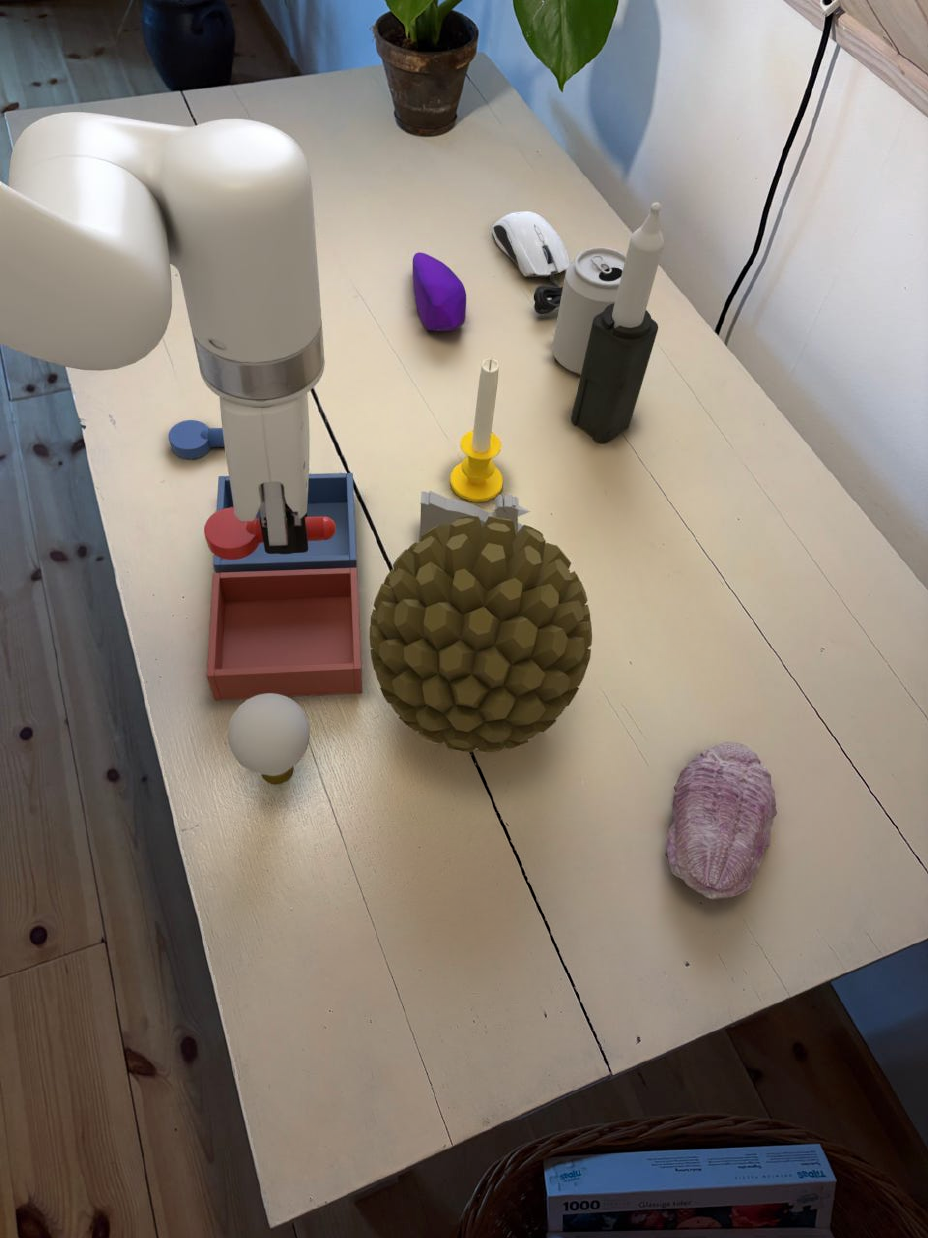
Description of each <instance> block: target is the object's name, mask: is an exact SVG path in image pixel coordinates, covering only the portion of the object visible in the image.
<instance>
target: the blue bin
mask: <svg viewBox="0 0 928 1238" xmlns="http://www.w3.org/2000/svg"><path fill="white" fill-rule="evenodd" d="M216 497H217V498H216V511H215V512H217V511H219V510H222V509H225V508H234V505H233V498H232V492H231V485H230V479H229V475H219V476H218V479H217V495H216ZM355 512H356V511H355V492H354V474H353V472H329V473H327V472H326V473H325V472H324V473H309V481H308V500H307V516H308V517H329V518H330V519H332V520H333V521H334V523H335V525H336V532H335V534H334V536H333V537H332V538H330V539H328V540H321V541H308V551H307V552H304V553H292V554H268V553H266V552H265V549H264V543H260V544H259V546H258V547H257V549H256V550H255V551H254V552H253V553H252V554H250V555H249V556H247V557H245V558H242V559H238V560H226V559H222V558H219V557H217V556H216V555H214V554H213V561H212V563H213V564H212V565H213V569H214V573H223V572H250V571H278V570H306V569H334V568H357V569H358V561H357V538H356V537H357V535H356V515H355V514H356V513H355ZM256 519H260V511H258V513H257V515H256Z"/></svg>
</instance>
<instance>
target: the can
mask: <svg viewBox="0 0 928 1238" xmlns="http://www.w3.org/2000/svg"><path fill="white" fill-rule="evenodd" d="M626 255H627V254H625V253H624V252H622V251H620V250H618V249H615V248H613V247H606V246H594V247H593V246H591V247H589V248H586V249H583V250H581V251H580V252H578V253H577V255H576V256H575V257H574V260H573V261H572V262H571V264H570V265H569V267H568V268H567V269H566V270H565V275H564V279H563V285H562V286H563V290H562V296H561V301H560V307H558V313H557V319H556V324H555V328H554V335H553V340H552V347H551V348H552V350H551V351H552V353H553V356H554V358H555V360H557V362H558V363H559V364H560V365H561V366H562V367H564V368H565V369H566V370H568V371H569V372H571V373H573V374H574V373H575V374H576V375H579V376H581V372H582V367H583V363H584V358H585V354H586V349H587V345H588V340H589V336H590V331H591V327H592V322H593V319H594V317H595V316H596V315H598V314H600V313H602V312H603V311H604V310H605V308H606V307H607V306H609V305H610V304H612V303H615V300H616V296H617V292H618V288H619V284H620V280H621V276H622V271H623V267H624V263H625V259H626Z"/></svg>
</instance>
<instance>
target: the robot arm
mask: <svg viewBox="0 0 928 1238" xmlns="http://www.w3.org/2000/svg"><path fill="white" fill-rule="evenodd" d="M11 152H12V153H11V156H10V162H9V171H8V185H7V184H6V183H4V182H3V181H1V180H0V345H2V346H3V347H6V348H9V349H11V350H14V351H16V352H18V353H20V354H24V355H26V356H29V357H32V358H35V359H37V360H40V361H43V362H47V363H50V364H54V365H56V366H60V367H65V368H71V369H74V370H75V369H76V370H81V371H98V372H100V371H111V370H119V369H121V368H125V367H127V366H130V365H131V366H132V365H133V364H136V363H137V362H139V361H141V360H143V359H144V358H146V357H147V356H148V355H149V354H150V353H151V352H152V351H153V350H154V349H155V348H157V346H159V344H160V342H161V340H162V339H163V337H164V336H165V334H166V332H167V329H168V326H169V323H170V320H171V317H172V316H171V315H172V309H173V283H172V268H171V265H172V266H173V267H174V268H175V269H176V270H177V272H178V274H179V278H180V283H181V287H182V292H183V297H184V301H185V306H186V307H185V308H186V312H187V315H188V316H187V317H188V321H189V325H190V329H191V333H192V338H193V345H194V348H195V352H196V358H197V361H198V366H199V372H200V375H201V378H202V380H203V383H204V384H205V386H206V387H207V388H208V389H209V390H210V391H211V392H212V393H213V394H215V395H216V396H217V397H219V411H220V420H221V428H222V430H223V438H224V445H225V447H224V452H225V458H226V459H225V460H226V466H227V472H228V476H229V479H230V485H231V492H232V498H233V505H234V512H235V516H236V517H237V518H238V519H239V520H240V521H243V522H244V521H253V520H254V519H255V517H256V515H257V513H258V511H260V526H261V531H262V537H263V543H264V549H265V552H266V553H268V554H292V553H304V552H307V551H308V538H307V529H306V520H305V517H308V516H307V500H308V481H309V474H310V446H311V445H310V442H311V441H310V439H311V438H310V436H311V435H310V409H309V395H308V393H309V392H310V391H312V390H313V389H314V388H315V386H317V384H318V383H319V382H320V380H321V378H322V376H323V374H324V371H325V366H326V365H325V363H326V362H325V349H324V337H323V334H324V333H323V319H322V307H321V293H320V292H321V291H320V277H319V276H320V275H319V263H318V250H317V248H318V247H317V234H316V220H315V204H314V193H313V181H312V173H311V169H310V166H309V165H310V164H309V161H308V159H307V157H306V156H305V154H304V151H303V150H302V148H301V147H300V145H298V144H297V142H296V141H295V140H294V139H293V138H292V137H291V136H290V135H288V134H287V133H286V132H284V131H283V130H281V129H279V128H277V127H275V126H272V125H271V124H268V123H265V122H262V121H257V120H254V119H247V118H222V119H221V118H220V119H214V120H208V121H205V122H202V123H199V124H196V125H193V126H186V125H175V124H168V123H167V124H166V123H160V122H154V121H153V122H152V121H146V120H141V119H134V118H129V117H121V116H116V115H110V114H101V113H95V112H94V113H93V112H82V111H74V112H73V111H71V112H69V111H68V112H59V113H54V114H50V115H47V116H43V117H41V118H39V119H37V120H36V121H34V122H32V123H31V124H29V126H27V127H26V128H25V129H24V130H23V131H22V133H21V134H20V136H19V137H18V138H17V140H16V142H15V143H14V146H13V149H12V151H11Z"/></svg>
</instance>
